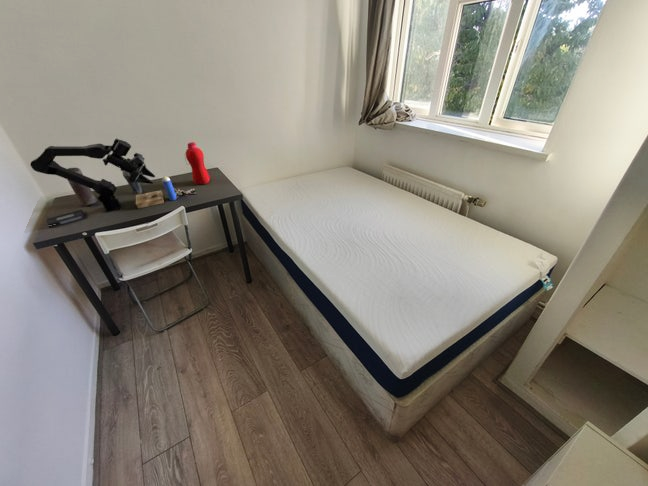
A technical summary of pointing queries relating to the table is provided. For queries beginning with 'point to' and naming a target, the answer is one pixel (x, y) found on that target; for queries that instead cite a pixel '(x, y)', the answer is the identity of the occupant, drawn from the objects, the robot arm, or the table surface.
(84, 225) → the table surface
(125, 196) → the table surface
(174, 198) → the white topped blue rod
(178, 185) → the table surface
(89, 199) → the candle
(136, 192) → the beverage cup
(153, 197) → the holder
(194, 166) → the water bottle
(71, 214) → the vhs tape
